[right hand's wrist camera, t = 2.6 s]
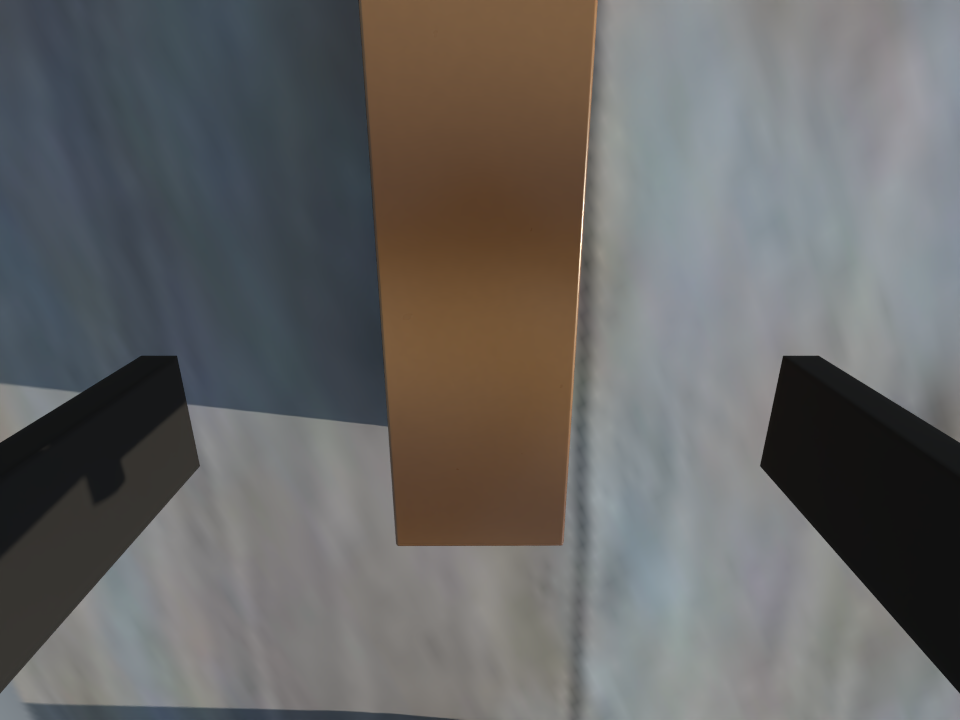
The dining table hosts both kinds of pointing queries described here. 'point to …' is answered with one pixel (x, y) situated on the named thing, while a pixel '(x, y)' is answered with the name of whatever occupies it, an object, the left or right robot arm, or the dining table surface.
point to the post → (478, 256)
